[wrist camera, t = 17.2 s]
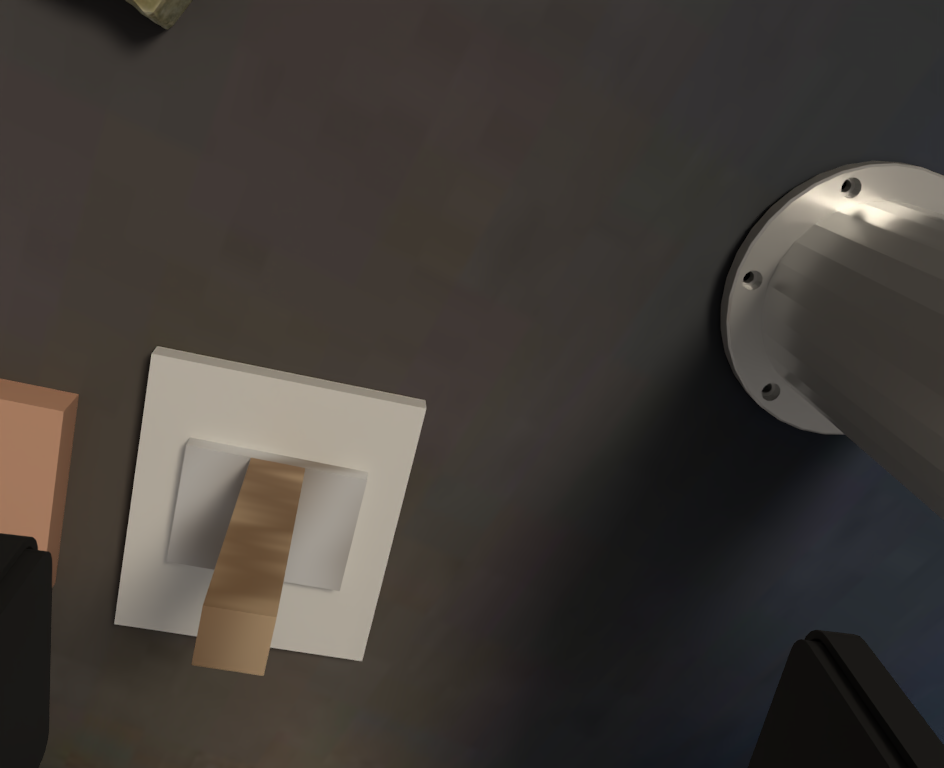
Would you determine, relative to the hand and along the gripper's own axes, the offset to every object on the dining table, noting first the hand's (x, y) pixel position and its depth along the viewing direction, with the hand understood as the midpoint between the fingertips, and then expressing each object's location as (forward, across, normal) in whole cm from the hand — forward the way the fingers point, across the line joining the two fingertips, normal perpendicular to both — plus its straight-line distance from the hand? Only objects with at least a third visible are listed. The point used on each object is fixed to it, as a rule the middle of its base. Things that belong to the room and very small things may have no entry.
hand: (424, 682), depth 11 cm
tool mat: (+29, +5, +14) cm, 32 cm away
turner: (+28, +5, +14) cm, 31 cm away
